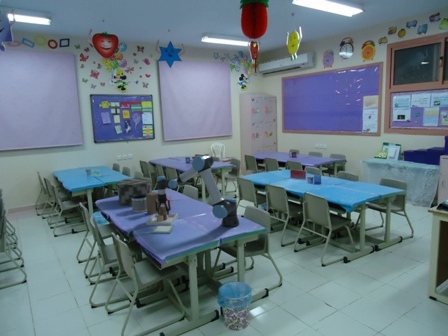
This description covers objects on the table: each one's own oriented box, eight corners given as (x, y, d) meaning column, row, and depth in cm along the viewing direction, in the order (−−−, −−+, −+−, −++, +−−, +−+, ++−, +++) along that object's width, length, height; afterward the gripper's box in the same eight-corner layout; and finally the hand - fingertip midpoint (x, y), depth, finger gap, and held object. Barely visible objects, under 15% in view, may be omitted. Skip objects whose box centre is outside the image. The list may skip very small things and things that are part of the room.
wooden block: (161, 212, 319) (159, 193, 316) (152, 215, 312) (151, 195, 309) (155, 211, 326) (153, 191, 323) (146, 213, 319) (145, 193, 316)
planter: (140, 213, 319) (139, 199, 317) (129, 211, 327) (127, 197, 325) (151, 209, 333) (150, 195, 330) (140, 207, 341) (139, 194, 338)
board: (174, 226, 278) (174, 225, 277) (169, 233, 262) (169, 232, 262) (156, 226, 279) (156, 225, 279) (150, 233, 264) (150, 232, 263)
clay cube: (163, 222, 289) (163, 215, 288) (162, 223, 284) (162, 217, 283) (157, 222, 289) (157, 215, 288) (157, 224, 284) (156, 217, 283)
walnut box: (167, 218, 299) (167, 205, 297) (166, 220, 293) (165, 207, 291) (161, 218, 300) (160, 205, 298) (159, 220, 294) (158, 207, 292)
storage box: (123, 198, 382) (121, 179, 379) (153, 196, 386) (152, 177, 382) (117, 206, 348) (115, 185, 344) (150, 204, 352) (149, 183, 348)
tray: (178, 217, 304) (177, 213, 303) (171, 226, 280) (170, 222, 279) (154, 217, 306) (154, 213, 306) (145, 226, 282) (145, 222, 282)
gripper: (173, 192, 295) (175, 216, 299) (153, 192, 298) (154, 216, 301) (171, 194, 288) (172, 219, 292) (150, 194, 290) (152, 219, 294)
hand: (163, 218), depth 297 cm, fingers closed on walnut box, 6 cm apart
